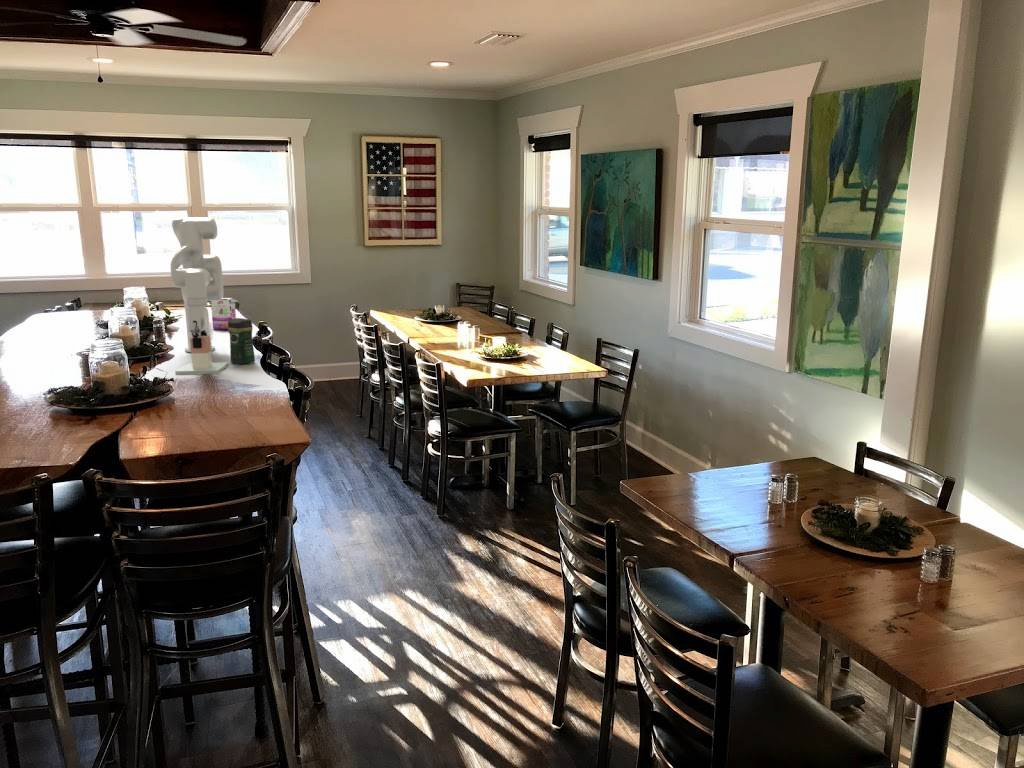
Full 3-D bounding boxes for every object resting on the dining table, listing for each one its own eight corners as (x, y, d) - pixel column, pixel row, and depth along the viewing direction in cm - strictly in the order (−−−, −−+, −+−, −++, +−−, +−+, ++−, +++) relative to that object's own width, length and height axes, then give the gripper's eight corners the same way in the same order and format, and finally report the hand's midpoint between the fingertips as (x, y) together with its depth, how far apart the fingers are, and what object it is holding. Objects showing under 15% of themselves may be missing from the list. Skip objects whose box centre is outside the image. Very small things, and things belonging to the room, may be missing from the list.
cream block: (196, 365, 323) (195, 350, 322) (212, 365, 324) (211, 350, 322) (192, 368, 317) (191, 353, 316) (208, 368, 318) (207, 353, 316)
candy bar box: (237, 329, 422) (235, 297, 419) (232, 330, 418) (230, 299, 414) (217, 328, 424) (215, 297, 420) (212, 329, 419) (210, 298, 416)
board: (187, 366, 328) (187, 363, 327) (228, 365, 329) (228, 362, 329) (175, 374, 312) (175, 371, 312) (218, 373, 313) (217, 370, 313)
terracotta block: (195, 350, 322) (194, 335, 320) (211, 350, 322) (209, 335, 321) (191, 353, 316) (190, 338, 314) (207, 353, 316) (205, 338, 315)
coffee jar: (258, 362, 336) (255, 318, 332) (243, 365, 329) (240, 320, 325) (242, 359, 341) (239, 316, 337) (227, 363, 334) (223, 318, 330)
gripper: (193, 299, 323) (197, 342, 326) (180, 305, 306) (184, 350, 310) (212, 299, 323) (216, 342, 327) (200, 304, 306) (204, 350, 310)
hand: (200, 346), depth 318 cm, fingers open, 8 cm apart
